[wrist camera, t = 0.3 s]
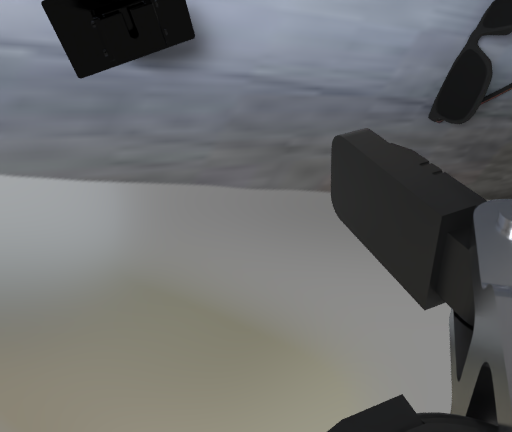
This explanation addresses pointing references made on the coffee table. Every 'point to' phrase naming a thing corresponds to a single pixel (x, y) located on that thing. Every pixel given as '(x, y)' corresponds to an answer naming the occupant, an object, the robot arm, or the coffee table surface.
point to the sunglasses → (472, 70)
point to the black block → (116, 30)
